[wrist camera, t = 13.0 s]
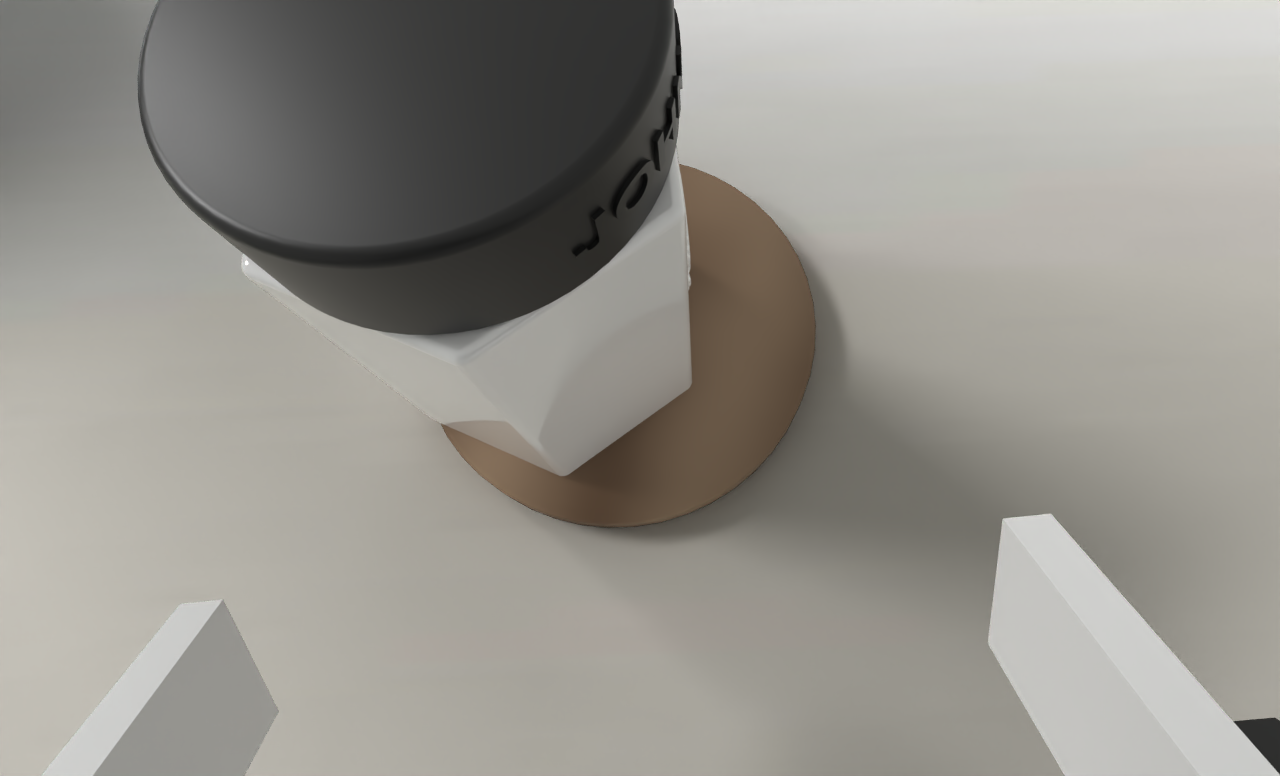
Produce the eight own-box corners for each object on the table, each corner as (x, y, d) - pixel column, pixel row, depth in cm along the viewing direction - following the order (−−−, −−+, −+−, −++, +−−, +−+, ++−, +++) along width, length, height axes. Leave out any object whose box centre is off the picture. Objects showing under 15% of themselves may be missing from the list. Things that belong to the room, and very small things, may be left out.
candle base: (432, 546, 21) (419, 542, 20) (435, 198, 25) (424, 181, 24) (842, 506, 20) (849, 500, 19) (779, 155, 24) (782, 136, 23)
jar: (709, 462, 20) (718, 247, 9) (426, 494, 20) (85, 328, 9) (673, 191, 23) (646, -232, 12) (426, 224, 23) (168, -155, 12)
